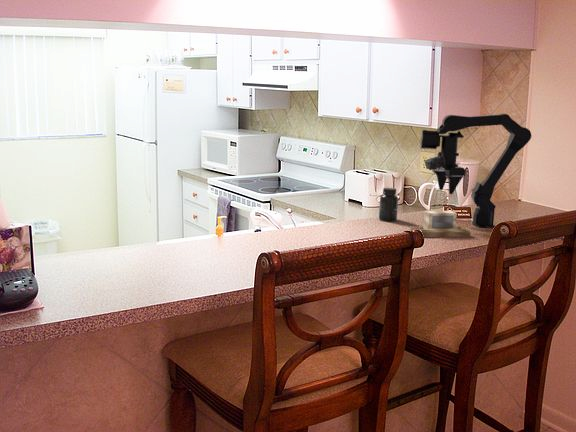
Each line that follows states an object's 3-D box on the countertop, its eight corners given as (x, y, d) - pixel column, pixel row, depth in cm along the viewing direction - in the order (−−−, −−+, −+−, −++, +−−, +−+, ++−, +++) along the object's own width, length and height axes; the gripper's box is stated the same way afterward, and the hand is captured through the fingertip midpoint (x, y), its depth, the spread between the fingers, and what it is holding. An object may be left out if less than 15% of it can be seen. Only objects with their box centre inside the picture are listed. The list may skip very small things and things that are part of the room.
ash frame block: (450, 227, 239) (451, 210, 238) (455, 230, 234) (457, 213, 233) (423, 227, 237) (424, 210, 236) (428, 230, 233) (429, 213, 231)
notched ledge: (458, 230, 242) (458, 223, 241) (470, 236, 232) (470, 229, 232) (410, 230, 239) (410, 223, 238) (420, 237, 229) (420, 230, 229)
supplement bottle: (398, 221, 253) (400, 190, 251) (379, 221, 253) (381, 189, 251) (395, 218, 260) (397, 187, 258) (377, 217, 260) (379, 186, 258)
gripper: (418, 146, 255) (416, 187, 258) (437, 152, 237) (434, 196, 240) (446, 147, 256) (443, 187, 260) (467, 152, 238) (464, 196, 242)
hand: (445, 191), depth 250 cm, fingers open, 9 cm apart
